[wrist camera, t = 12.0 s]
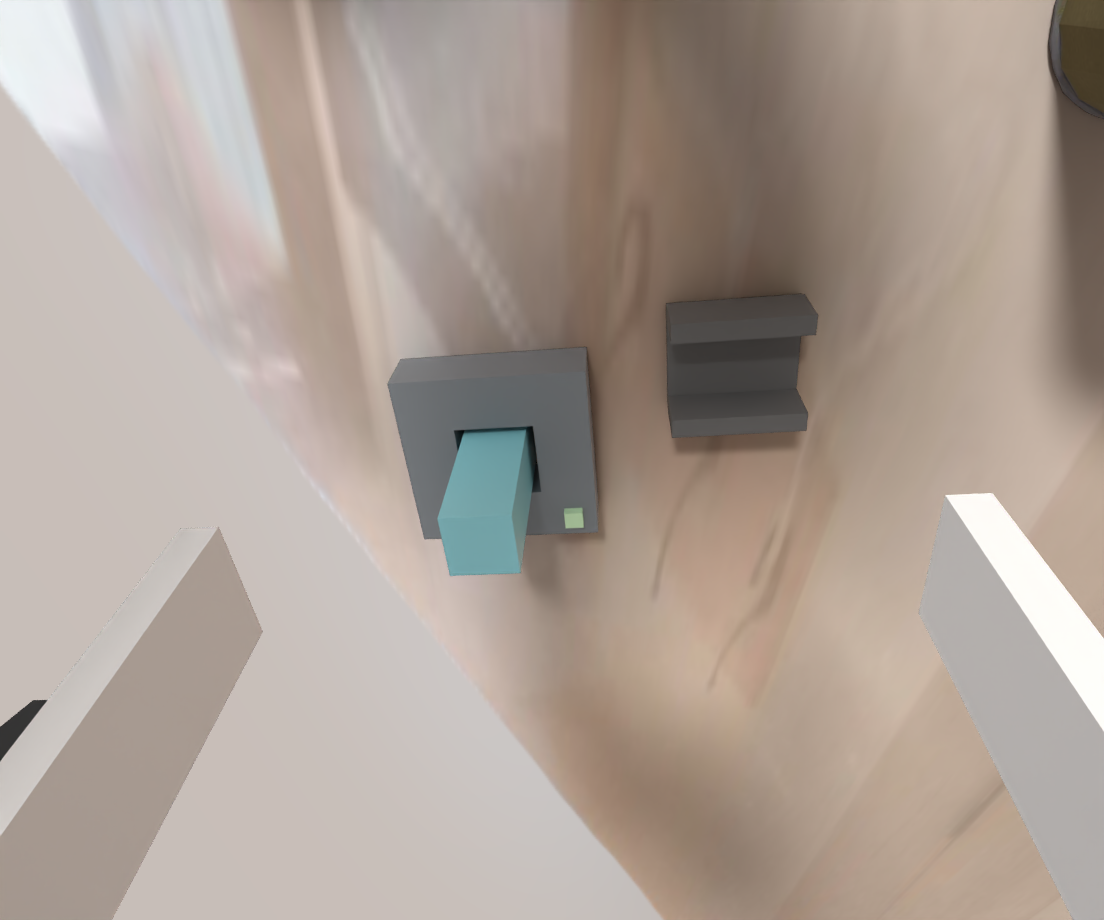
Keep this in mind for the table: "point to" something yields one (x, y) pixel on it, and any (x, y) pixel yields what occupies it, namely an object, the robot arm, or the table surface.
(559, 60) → the table surface
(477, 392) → the port
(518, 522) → the plug
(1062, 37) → the canister
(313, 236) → the table surface
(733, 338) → the holster
